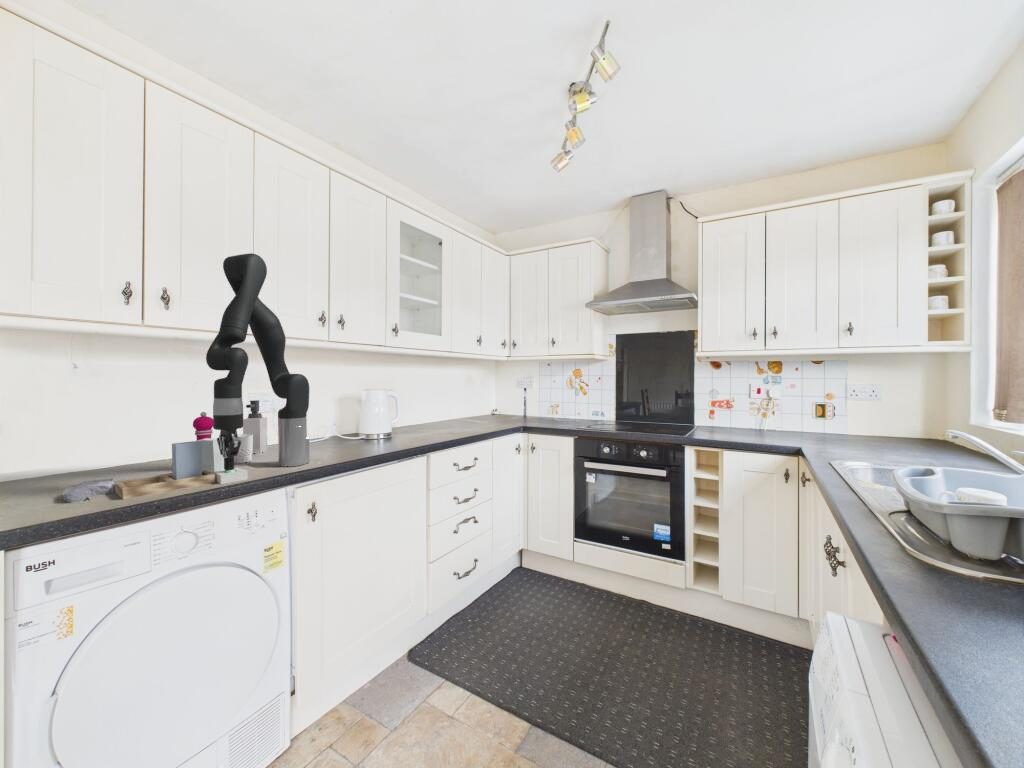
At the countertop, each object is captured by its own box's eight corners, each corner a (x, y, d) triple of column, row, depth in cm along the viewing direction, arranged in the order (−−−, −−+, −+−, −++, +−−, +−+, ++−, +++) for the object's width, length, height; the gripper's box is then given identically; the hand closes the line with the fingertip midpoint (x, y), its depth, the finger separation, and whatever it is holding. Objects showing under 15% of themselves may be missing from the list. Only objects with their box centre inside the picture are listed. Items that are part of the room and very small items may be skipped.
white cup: (223, 463, 151) (222, 436, 151) (242, 459, 158) (242, 433, 158) (239, 464, 149) (238, 437, 148) (258, 460, 156) (258, 434, 156)
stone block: (67, 511, 104) (119, 495, 111) (60, 494, 103) (114, 478, 111) (66, 503, 112) (115, 488, 119) (60, 487, 111) (110, 473, 119)
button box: (239, 478, 129) (238, 467, 129) (247, 482, 125) (247, 470, 125) (212, 483, 123) (212, 471, 123) (221, 487, 119) (220, 475, 119)
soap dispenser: (240, 455, 166) (239, 401, 165) (251, 451, 174) (250, 400, 174) (257, 454, 167) (256, 401, 166) (267, 450, 175) (266, 400, 175)
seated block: (197, 480, 123) (197, 440, 123) (202, 482, 121) (201, 442, 120) (172, 484, 118) (171, 443, 118) (176, 486, 116) (175, 445, 116)
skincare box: (225, 474, 135) (225, 437, 134) (214, 477, 130) (213, 440, 130) (209, 473, 135) (208, 437, 135) (197, 477, 131) (196, 439, 131)
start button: (233, 475, 126) (233, 468, 126) (236, 477, 124) (236, 469, 124) (223, 477, 124) (223, 469, 124) (226, 478, 122) (226, 471, 122)
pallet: (203, 480, 127) (202, 469, 127) (215, 486, 120) (214, 474, 120) (115, 495, 111) (114, 482, 111) (123, 503, 105) (123, 489, 105)
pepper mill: (203, 471, 138) (202, 413, 138) (186, 470, 140) (184, 412, 139) (222, 466, 146) (221, 411, 145) (205, 465, 147) (204, 410, 146)
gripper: (250, 413, 122) (251, 470, 123) (234, 411, 130) (235, 464, 131) (221, 415, 116) (222, 475, 117) (206, 412, 124) (207, 468, 125)
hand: (229, 469), depth 124 cm, fingers closed
